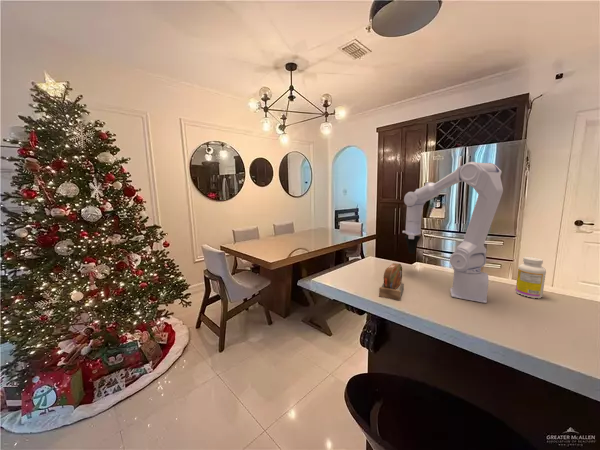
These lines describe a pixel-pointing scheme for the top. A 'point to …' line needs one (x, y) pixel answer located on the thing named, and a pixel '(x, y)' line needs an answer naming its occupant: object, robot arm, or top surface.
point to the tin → (393, 276)
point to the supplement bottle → (531, 277)
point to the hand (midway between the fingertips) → (411, 253)
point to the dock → (391, 292)
